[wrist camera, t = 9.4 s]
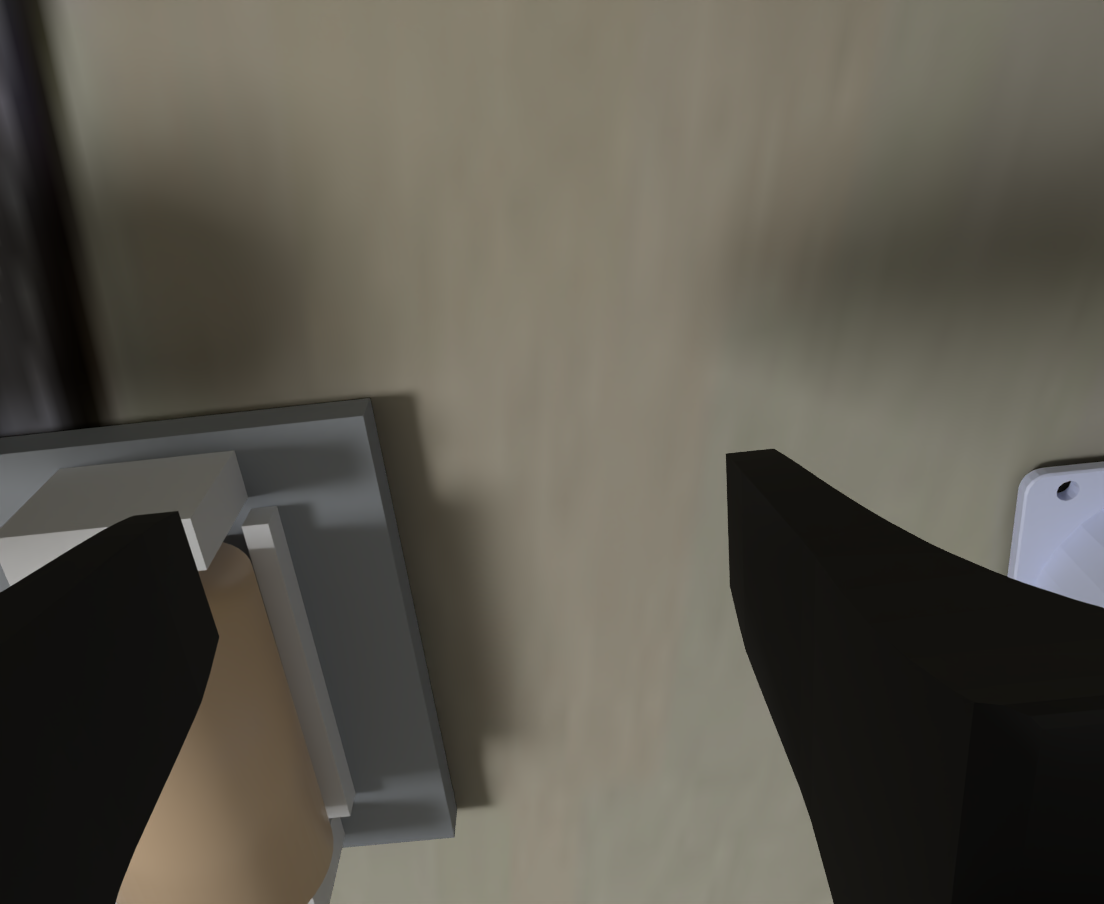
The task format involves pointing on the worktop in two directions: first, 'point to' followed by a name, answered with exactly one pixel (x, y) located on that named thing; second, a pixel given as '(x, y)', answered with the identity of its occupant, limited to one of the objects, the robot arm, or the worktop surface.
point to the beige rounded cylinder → (236, 775)
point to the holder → (273, 579)
